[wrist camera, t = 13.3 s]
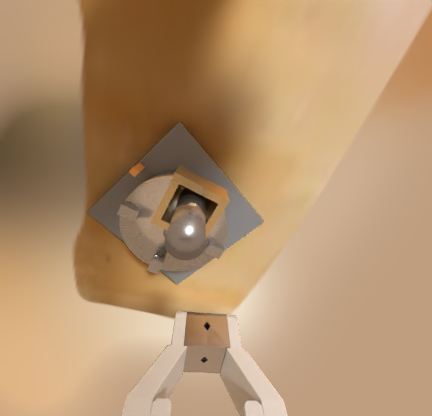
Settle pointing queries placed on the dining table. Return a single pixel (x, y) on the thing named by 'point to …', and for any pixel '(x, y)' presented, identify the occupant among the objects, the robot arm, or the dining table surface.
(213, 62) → the dining table surface
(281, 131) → the dining table surface
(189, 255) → the steel pin
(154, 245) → the grey round chuck
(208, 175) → the base
